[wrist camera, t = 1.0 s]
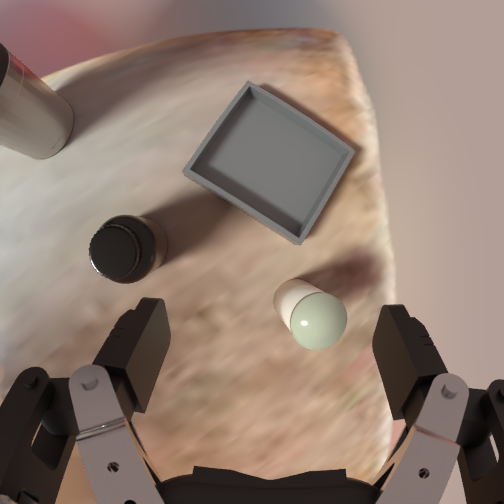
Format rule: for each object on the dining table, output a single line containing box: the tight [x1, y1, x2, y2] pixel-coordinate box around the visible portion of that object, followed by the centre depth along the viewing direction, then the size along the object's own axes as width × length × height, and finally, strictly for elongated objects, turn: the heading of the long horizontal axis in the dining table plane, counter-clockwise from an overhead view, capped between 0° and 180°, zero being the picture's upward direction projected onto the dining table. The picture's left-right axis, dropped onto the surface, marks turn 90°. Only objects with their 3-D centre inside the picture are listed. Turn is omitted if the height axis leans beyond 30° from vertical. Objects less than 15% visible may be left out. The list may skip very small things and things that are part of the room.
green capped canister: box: [274, 279, 347, 350], centre depth 34 cm, size 6×6×10 cm
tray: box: [183, 81, 355, 245], centre depth 36 cm, size 16×14×3 cm
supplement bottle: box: [89, 215, 168, 284], centre depth 30 cm, size 7×7×12 cm
